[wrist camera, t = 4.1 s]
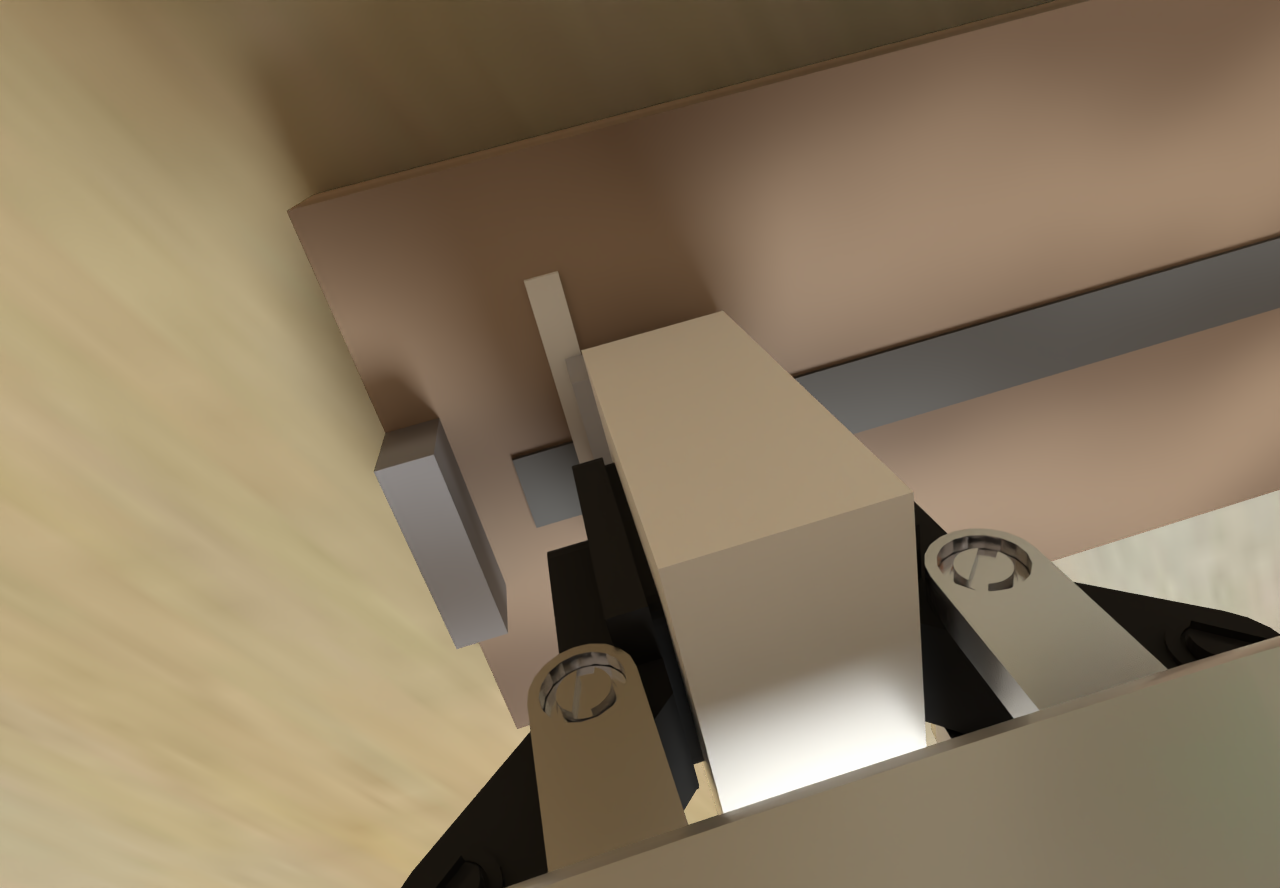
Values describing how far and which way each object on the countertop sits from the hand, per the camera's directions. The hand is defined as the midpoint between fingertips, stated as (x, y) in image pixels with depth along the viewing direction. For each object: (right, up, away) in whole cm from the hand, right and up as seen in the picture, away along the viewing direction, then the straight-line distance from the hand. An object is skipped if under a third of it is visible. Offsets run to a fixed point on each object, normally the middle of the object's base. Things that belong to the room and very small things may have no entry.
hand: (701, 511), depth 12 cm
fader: (0, +1, +2) cm, 2 cm away
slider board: (+6, +4, +4) cm, 9 cm away
